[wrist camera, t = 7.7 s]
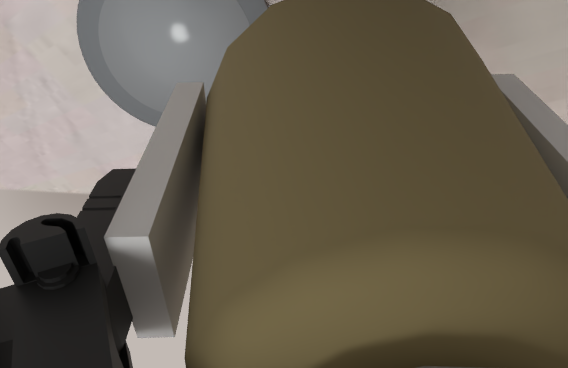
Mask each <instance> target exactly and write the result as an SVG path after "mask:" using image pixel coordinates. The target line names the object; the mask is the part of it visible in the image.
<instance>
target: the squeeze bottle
mask: <svg viewBox="0 0 568 368" xmlns="http://www.w3.org/2000/svg"><path fill="white" fill-rule="evenodd" d="M185 363H186V368H568V199H567V197H566V196H565V194H564V192H563V191H562V189H561V187H560V186H559V184H558V183H557V181H556V179H555V178H554V176H553V175H552V173H551V171H550V170H549V168H548V166H547V165H546V163H545V162H544V160H543V158H542V157H541V155H540V153H539V152H538V150H537V149H536V147H535V145H534V144H533V142H532V140H531V139H530V137H529V136H528V134H527V132H526V131H525V129H524V127H523V126H522V124H521V123H520V121H519V119H518V118H517V116H516V114H515V113H514V111H513V110H512V108H511V106H510V105H509V103H508V101H507V100H506V98H505V97H504V95H503V93H502V92H501V90H500V88H499V87H498V85H497V84H496V82H495V80H494V79H493V77H492V76H491V74H490V72H489V71H488V69H487V67H486V66H485V64H484V63H483V61H482V59H481V58H480V56H479V55H478V53H477V52H476V50H475V49H474V48H473V46H472V45H471V43H470V42H469V40H468V39H467V37H466V36H465V34H464V33H463V31H462V30H461V29H460V27H459V26H458V24H457V23H456V21H455V20H454V18H453V17H452V15H451V14H450V13H448V12H446V11H444V10H442V9H441V8H439V7H437V6H435V5H433V4H431V3H429V2H427V1H426V0H284V1H281V2H278V3H276V4H273V5H271V6H270V7H269V8H268V9H267V10H266V11H265V12H264V13H263V14H262V15H260V16H259V17H258V18H257V19H256V20H255V21H254V22H253V23H252V24H251V25H250V26H249V27H248V28H247V29H246V30H245V31H244V32H243V33H242V34H241V35H240V36H239V37H238V38H237V39H236V40H234V41H233V42H232V43H231V44H230V45H229V46H228V47H227V49H226V52H225V54H224V57H223V59H222V62H221V64H220V67H219V69H218V72H217V74H216V77H215V79H214V81H213V84H212V86H211V89H210V91H209V94H208V96H207V102H206V114H205V125H204V137H203V149H202V161H201V172H200V184H199V196H198V208H197V219H196V231H195V243H194V255H193V267H192V278H191V290H190V302H189V315H188V326H187V338H186V349H185Z"/></svg>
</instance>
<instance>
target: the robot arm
mask: <svg viewBox="0 0 568 368" xmlns="http://www.w3.org/2000/svg"><path fill="white" fill-rule="evenodd" d="M491 76H492V77H493V79H494V80H495V82H496V84H497V85H498V87H499V88H500V90H501V92H502V93H503V95H504V97H505V98H506V100H507V101H508V103H509V105H510V106H511V108H512V110H513V111H514V113H515V114H516V116H517V118H518V119H519V121H520V123H521V124H522V126H523V127H524V129H525V131H526V132H527V134H528V136H529V137H530V139H531V140H532V142H533V144H534V145H535V147H536V149H537V150H538V152H539V153H540V155H541V157H542V158H543V160H544V162H545V163H546V165H547V166H548V168H549V170H550V171H551V173H552V175H553V176H554V178H555V179H556V181H557V183H558V184H559V186H560V187H561V189H562V191H563V192H564V194H565V196H566V197H567V199H568V125H567V124H566V123H565V122H564V121H563V120H562V119H561V118H560V117H559V116H558V115H557V114H556V113H554V112H553V111H552V110H551V109H550V108H549V107H548V106H547V105H546V104H545V103H544V102H543V101H542V100H541V99H540V98H539V97H538V96H536V95H535V94H534V93H533V92H532V91H531V90H530V89H529V88H528V87H527V86H526V85H525V84H524V83H523V82H522V81H521V80H520V79H519V78H517V77H516V76H515V75H514V74H495V75H491ZM205 114H206V98H205V90H204V83H203V82H190V83H177V84H176V86H175V88H174V90H173V92H172V94H171V96H170V99H169V101H168V103H167V105H166V107H165V109H164V111H163V113H162V115H161V118H160V120H159V122H158V124H157V126H156V128H155V130H154V132H153V135H152V137H151V139H150V141H149V143H148V145H147V147H146V149H145V151H144V154H143V156H142V158H141V160H140V162H139V164H138V166H137V168H136V169H113V170H111V171H110V172H109V173H108V174H106V175H105V176H104V177H103V178H101V179H100V180H99V181H98V182H97V183H96V185H95V187H94V189H93V190H92V192H91V194H90V195H89V199H87V201H86V202H85V204H84V206H83V210H82V211H80V213H79V215H78V216H77V218H76V217H74V216H72V215H68V214H58V213H56V214H50V215H43V216H40V217H37V218H34V219H31V220H28V221H26V222H24V223H22V224H21V225H19V226H17V227H16V228H14V229H12V230H11V231H10V232H9V233H8V234H7V235H6V236H5V237H4V238H3V239H2V240H1V243H0V257H1V259H2V261H3V263H4V265H5V267H6V269H7V270H8V272H9V274H10V276H11V278H12V280H13V282H14V285H11V286H8V287H4V288H0V368H133V366H132V361H131V356H130V351H129V348H128V346H127V343H126V337H127V334H128V331H129V328H130V325H131V322H133V325H134V328H135V331H136V334H137V337H138V338H147V337H150V338H151V337H175V334H176V329H177V325H178V321H179V316H180V312H181V307H182V303H183V298H184V294H185V290H186V285H187V281H188V277H189V272H190V267H191V263H192V259H193V255H194V243H195V231H196V219H197V208H198V196H199V184H200V172H201V161H202V149H203V137H204V125H205Z"/></svg>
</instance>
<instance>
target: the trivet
mask: <svg viewBox="0 0 568 368" xmlns="http://www.w3.org/2000/svg"><path fill="white" fill-rule="evenodd" d="M267 9H268V6H267V3H266V1H265V0H79V4H78V11H77V33H78V39H79V45H80V48H81V51H82V55H83V57H84V60H85V62H86V64H87V67H88V69H89V71H90V72H91V74H92V76H93V77H94V79H95V81H96V82H97V83H98V85H99V86H100V87H101V89H102V90H103V91H104V92H105V93H106V94H107V95H108V96H109V98H110V99H111V100H112V101H114V102H115V103H116V104H117V105H118V106H119V107H120V108H122V109H123V110H125V111H126V112H127V113H129V114H130V115H132V116H134V117H136V118H137V119H139V120H141V121H143V122H145V123H148V124H150V125H152V126H155V127H156V126H157V124H158V122H159V120H160V118H161V115H162V113H163V111H164V109H165V107H166V105H167V103H168V101H169V99H170V96H171V94H172V92H173V90H174V88H175V86H176V84H177V83H190V82H203V83H204V90H205V98H206V102H207V96H208V94H209V91H210V89H211V86H212V84H213V81H214V79H215V77H216V74H217V72H218V69H219V67H220V64H221V62H222V59H223V57H224V54H225V52H226V49H227V47H228V46H229V45H230V44H231V43H232V42H233V41H234V40H236V39H237V38H238V37H239V36H240V35H241V34H242V33H243V32H244V31H245V30H246V29H247V28H248V27H249V26H250V25H251V24H252V23H253V22H254V21H255V20H256V19H257V18H258V17H259V16H260V15H262V14H263V13H264V12H265V11H266V10H267Z"/></svg>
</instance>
